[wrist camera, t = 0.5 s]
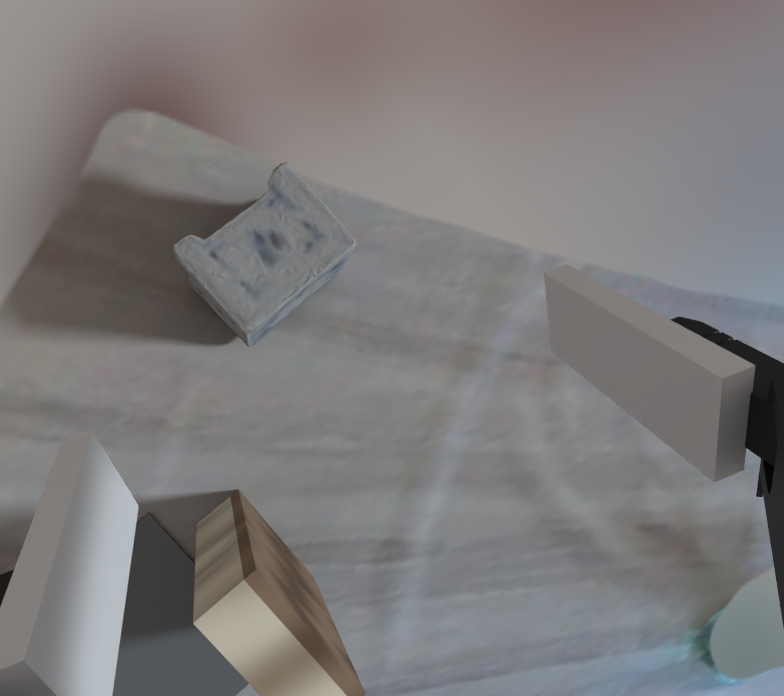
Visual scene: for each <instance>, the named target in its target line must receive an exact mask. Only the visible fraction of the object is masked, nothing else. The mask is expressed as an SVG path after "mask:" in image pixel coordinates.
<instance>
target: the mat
mask: <svg viewBox="0 0 784 696" xmlns="http://www.w3.org/2000/svg"><path fill="white" fill-rule="evenodd" d="M194 583H195V563H194V562H193V561H192V560H191V559H190V558H189V556H188V555H187V554H186V553H185V552H184V551H183V550H182V549H181V548H180V546H179V545H178V544H177V543H176V542H175V541H174V540H173V539H172V538H171V537H170V535H169V534H168V533H167V532H166V531H165V530H164V529H163V528H162V527H161V525H160V524H159V523H158V522H157V521H156V520H155V519H154V518H153V517H152V516H151V514H150V513H149V514H147V515H146V516H145V517H144V518H142V519H141V520H140V521H139V522H137V523H136V529H135V536H134V543H133V551H132V558H131V565H130V572H129V579H128V586H127V594H126V601H125V608H124V615H123V622H122V629H121V637H120V644H119V651H118V658H117V665H116V672H115V680H114V687H113V694H112V696H236V695H237V694H238V693H239V692H240V691H241V690H242V689H243V688H244V687H246V686H247V685H248V684H249V683H248V682H247V681H246V679H245V678H244V677H243V676H242V675H241V674H240V673H239V672H238V671H237V670H236V669H235V668H234V667H233V666H232V664H231V663H230V662H229V661H228V660H227V659H226V658H225V657H224V656H223V655H222V654H221V653H220V652H219V651H218V650H217V648H216V647H215V646H214V645H213V644H212V643H211V642H210V641H209V640H208V639H207V638H206V637H205V636H204V635H203V633H202V632H201V631H200V630H199V629H198V628H197V627H196V626H195V625H194V624H193V612H194Z"/></svg>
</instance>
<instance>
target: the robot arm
mask: <svg viewBox="0 0 784 696" xmlns="http://www.w3.org/2000/svg"><path fill="white" fill-rule="evenodd" d="M544 278H545V289H546V299H547V309H548V319H549V329H550V339H551V350H552V352H553V353H554V354H555V355H557V356H558V357H559V358H560V359H562V360H563V361H564V362H565V363H567V364H568V365H569V366H570V367H571V368H573V369H574V370H575V371H576V372H578V373H579V374H580V375H581V376H583V377H584V378H585V379H586V380H588V381H589V382H590V383H591V384H593V385H594V386H595V387H596V388H598V389H599V390H600V391H601V392H603V393H604V394H605V395H606V396H607V397H609V398H610V399H611V400H612V401H614V402H615V403H616V404H617V405H619V406H620V407H621V408H622V409H624V410H625V411H626V412H627V413H629V414H630V415H631V416H632V417H634V418H635V419H636V420H637V421H639V422H640V423H641V424H642V425H644V426H645V427H646V428H647V429H648V430H650V431H651V432H652V433H653V434H655V435H656V436H657V437H658V438H660V439H661V440H662V441H663V442H665V443H666V444H667V445H668V446H670V447H671V448H672V449H673V450H675V451H676V452H677V453H678V454H680V455H681V456H682V457H683V458H684V459H686V460H687V461H688V462H689V463H691V464H692V465H693V466H694V467H696V468H697V469H698V470H699V471H701V472H702V473H703V474H704V475H706V476H707V477H708V478H709V479H711V480H712V481H713V482H716V481H719V480H721V479H723V478H726V477H728V476H730V475H733V474H735V473H737V472H739V471H742V470H744V463H745V454H746V448H747V449H749V450H750V451H752V452H753V453H755V454H756V455H757V456H759V457H760V458H761V464H760V472H759V479H758V487H757V494H756V496H757V497H762V496H764V503H765V509H766V516H767V522H768V529H769V535H770V542H771V548H772V555H773V561H774V568H775V574H776V581H777V587H778V594H779V601H780V607H781V613H782V620H783V626H784V363H782V362H780V361H778V360H776V359H774V358H772V357H770V356H768V355H766V354H764V353H762V352H760V351H758V350H756V349H754V348H752V347H750V346H748V345H746V344H744V343H742V342H740V341H738V340H733V338H732V337H730V336H728V335H726V334H725V333H723V332H722V333H719V330H717V329H715V328H713V327H711V326H709V325H707V324H705V323H703V322H700V321H696V320H692V319H687V318H683V317H677V318H674V319H671V320H670V319H668V318H666V317H664V316H662V315H660V314H658V313H657V312H655V311H653V310H651V309H649V308H647V307H645V306H643V305H642V304H640V303H638V302H636V301H634V300H632V299H630V298H629V297H627V296H625V295H623V294H621V293H619V292H617V291H615V290H614V289H612V288H610V287H608V286H606V285H604V284H602V283H600V282H599V281H597V280H595V279H593V278H591V277H589V276H587V275H586V274H584V273H582V272H580V271H578V270H576V269H574V268H572V267H571V266H569V265H564V266H562V267H559V268H556V269H553V270H550V271H547V272H544ZM138 508H139V506H138V504H137V502H136V501H135V499H134V498H133V496H132V494H131V493H130V491H129V490H128V488H127V486H126V485H125V483H124V482H123V480H122V478H121V477H120V475H119V474H118V472H117V470H116V469H115V467H114V465H113V464H112V462H111V461H110V459H109V457H108V456H107V454H106V453H105V451H104V449H103V448H102V446H101V445H100V443H99V441H98V440H97V438H96V436H95V435H94V433H93V432H92V431H90V432H87V433H84V434H81V435H78V436H75V437H72V438H70V439H67V440H64V441H62V442H61V445H60V447H59V450H58V453H57V455H56V458H55V461H54V463H53V466H52V469H51V472H50V474H49V477H48V480H47V482H46V485H45V488H44V490H43V493H42V496H41V499H40V501H39V504H38V507H37V509H36V512H35V515H34V518H33V520H32V523H31V526H30V528H29V531H28V534H27V536H26V539H25V542H24V545H23V547H22V550H21V553H20V555H19V558H18V561H17V563H16V566H15V569H14V570H12V571H9V572H7V573H4V574H1V575H0V696H112V694H113V687H114V680H115V672H116V665H117V658H118V651H119V644H120V637H121V629H122V622H123V615H124V608H125V601H126V594H127V586H128V579H129V572H130V565H131V558H132V551H133V543H134V536H135V529H136V522H137V515H138Z"/></svg>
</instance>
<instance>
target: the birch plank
mask: <svg viewBox="0 0 784 696" xmlns="http://www.w3.org/2000/svg"><path fill="white" fill-rule="evenodd" d="M193 624H194V625H195V626H196V627H197V628H198V629H199V630H200V631H201V632H202V633H203V635H204V636H205V637H206V638H207V639H208V640H209V641H210V642H211V643H212V644H213V645H214V646H215V647H216V648H217V650H218V651H219V652H220V653H221V654H222V655H223V656H224V657H225V658H226V659H227V660H228V661H229V662H230V663H231V664H232V666H233V667H234V668H235V669H236V670H237V671H238V672H239V673H240V674H241V675H242V676H243V677H244V678H245V679H246V681H247V682H248V683H249V684H250V685H251V686H252V687H253V688H254V689H255V690H256V691H257V692H258V693H259V694H260V695H261V696H364V695H365V692H364V690H363V687H362V685H361V683H360V681H359V678H358V676H357V674H356V672H355V669H354V667H353V665H352V663H351V660H350V658H349V656H348V654H347V651H346V649H345V647H344V645H343V643H342V640H341V638H340V636H339V634H338V631H337V629H336V627H335V625H334V622H333V620H332V618H331V616H330V613H329V611H328V609H327V607H326V605H325V602H324V600H323V598H322V596H321V593H320V591H319V589H318V587H317V584H316V582H315V580H314V578H313V577H312V575H311V574H310V573H309V572H308V571H307V570H306V568H305V567H304V566H303V565H302V564H301V563H300V561H299V560H298V559H297V558H296V557H295V555H294V554H293V553H292V552H291V551H290V550H289V548H288V547H287V546H286V545H285V544H284V543H283V541H282V540H281V539H280V538H279V537H278V535H277V534H276V533H275V532H274V531H273V530H272V528H271V527H270V526H269V525H268V524H267V522H266V521H265V520H264V519H263V518H262V517H261V515H260V514H259V513H258V512H257V511H256V510H255V508H254V507H253V506H252V505H251V504H250V502H249V501H248V500H247V499H246V498H245V497H244V495H243V494H242V493H241V492H240V491H239V490H237V491H236V492H235V493H234V494H233V495H231V496H230V497H229V498H228V499H226V500H225V501H224V502H223V503H221V504H220V505H219V506H218V507H217V508H215V509H214V510H213V511H212V512H210V513H209V514H208V515H207V516H205V517H204V518H203V519H202V520H201V521H199V522H198V523H197V526H196V555H195V583H194V612H193Z"/></svg>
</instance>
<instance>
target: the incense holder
mask: <svg viewBox="0 0 784 696" xmlns="http://www.w3.org/2000/svg"><path fill="white" fill-rule="evenodd" d="M268 184H269V190H268V191H267V192H266V193H265V194H264V195H263V196H261V197H260V198H259V199H258V200H257V201H256V202H255V203H254V204H253V205H252V206H251V207H249V208H247V209H246V210H244V211H243V212H241V213H240V214H239V215H237V216H236V217H234V218H233V219H231V220H230V221H228V222H227V223H226V224H225V225H224V226H222V227H221V228H220V229H219V230H218V231H216V232H215V233H214V234H213V235H211V236H209V237H208V238H206V239H205V240H204V239H202V238H200V237H197V236H194V235H187V236H186V237H184V238H183V239H181V240H180V241H179V242H177V243H176V244H175V245H173V247H172V251H173V257H174V259H175V260H176V261H177V262H178V263H179V264H180V266H182V267H183V268H184V269H185V270H186V272H187V275H188V277H189V278H188V281H189V284H190V286H192V287H193V288H194V289H195V291H196V292H197V293H198V294H199V295H200V296H201V297H202V298H203V299H204V300H205V301H206V303H207V304H208V305H210V306H211V308H212V309H213V310H214V311H215V313H216V314H217V315H219V316H220V317H221V318H222V320H223V321H224V322H225V323H226V324H227V325H228V327H229V328H231V329H232V330H233V331H234V332H235V334H237V335H238V337H239V338H240V339H241V340H243V341H244V343H245V344H246V345H247V346H249V347H250V346H252V345H254V344H255V343H256V342H258V341H259V340H260V339H261V338H263V337H264V336H265V335H266V334H267V333H268V332H269V331H270V330H271V329H273V328H274V327H275V326H276V325H277V324H278V323H279V322H281V321H282V320H283V319H284V318H285V317H286V316H287V315H289V314H290V313H291V312H292V311H293V310H295V309H296V308H297V307H298V306H300V305H301V304H302V303H303V302H304V301H305V300H307V299H308V298H309V297H310V296H312V295H313V294H314V293H315V292H317V291H318V290H319V289H320V288H321V287H323V286H324V285H325V284H326V283H328V282H329V281H330V280H332V279H333V278H334V277H335V276H336V275H337V274H338V273H339V272H340V270H341V269H342V267H343V265H344V264H345V261H346V260H347V258H348V257H349V256H350V255H351V253H352V251H353V249H354V248H355V246H356V245H357V244H356V241H355V239H354V238H353V236H352V235H351V234H350V233H349V232H348V230H347V229H346V228H345V227H344V226H343V224H342V223H341V222H340V221H339V220H338V219H337V218H336V217H335V215H334V214H333V213H332V212H331V211H330V210H329V208H328V207H327V206H326V205H325V204H324V203H323V202H322V201H321V200H320V199H319V198H318V197H317V196H316V195H315V193H314V192H313V191H312V190H311V188H310V187H309V186H308V185H307V184H306V183H305V182H304V181H303V180H302V179H301V178H300V177H299V175H298V174H297V173H296V172H295V171H294V170H293V169H292V167H291V166H290V164H289V163H288V162H284V163H281V164H280V165H279V166H278V167H276V168H275V169H274V170H273V173H272V175H271V177H270V179H269V181H268Z"/></svg>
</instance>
